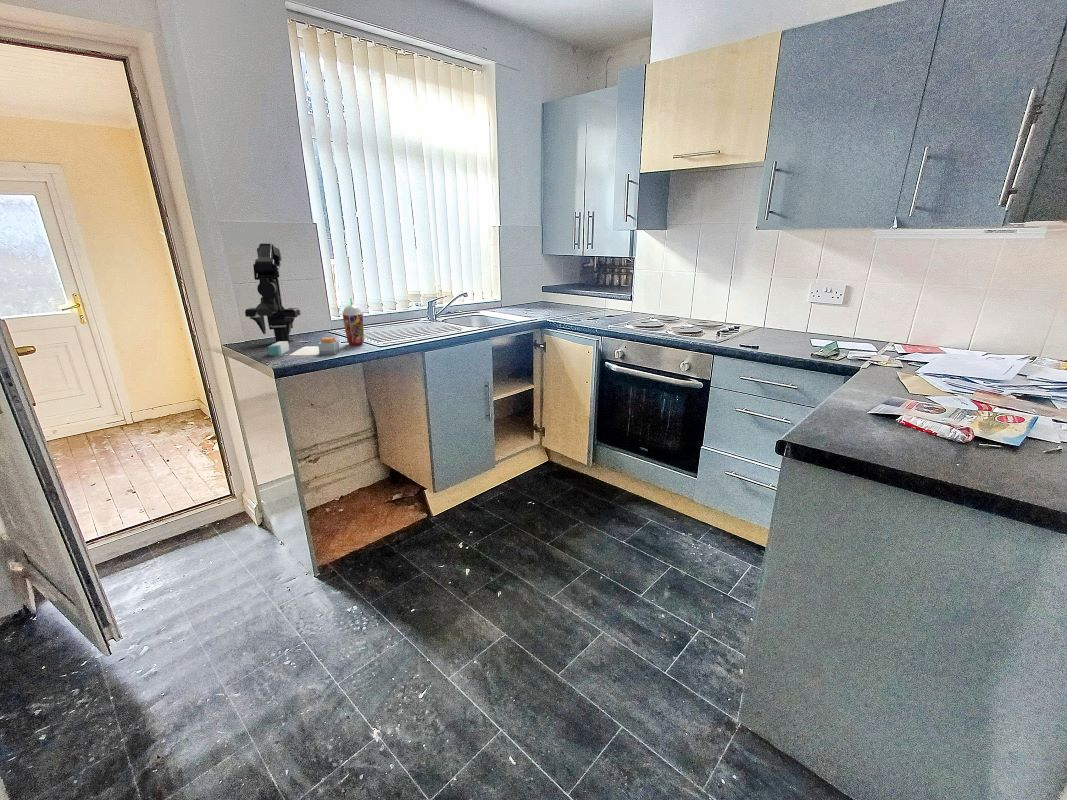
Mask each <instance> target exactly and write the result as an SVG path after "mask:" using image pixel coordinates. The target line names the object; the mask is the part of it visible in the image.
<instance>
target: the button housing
mask: <svg viewBox="0 0 1067 800" xmlns="http://www.w3.org/2000/svg"><path fill="white" fill-rule="evenodd" d="M317 346H318V347H319V355H321V356H322V355H325V356H326V355H329V356H330V355H334V356H335V355H336V354H338V353H339V352H340V349H341V348H340V342H339V340H336V339H335V342H334V343H321V341H320V342H318V343H317Z"/></svg>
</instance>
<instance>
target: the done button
mask: <svg viewBox="0 0 1067 800" xmlns="http://www.w3.org/2000/svg"><path fill="white" fill-rule="evenodd" d="M335 338H336V337H335V336H333V337H332V336H330V337H329V336H326V337H322V338H321V339H320V342H321V343H334V342H335V340H336V339H335Z"/></svg>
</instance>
